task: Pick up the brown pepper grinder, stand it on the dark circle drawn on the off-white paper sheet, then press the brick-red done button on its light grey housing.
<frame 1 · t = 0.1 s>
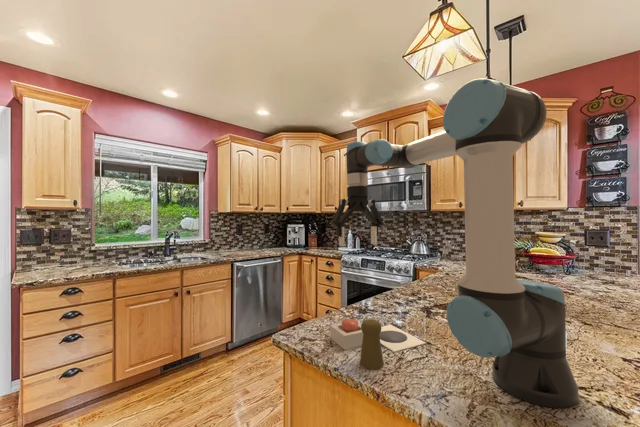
hand: (358, 245, 102), 28 cm above the counter, tool pointing down, fingers open, 13 cm apart
button housing: (350, 340, 87), on the counter
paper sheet: (392, 337, 89), on the counter
done button: (350, 326, 87), point 4 cm above the counter, slide at 0.0 cm
brown pepper grinder: (371, 364, 73), on the counter
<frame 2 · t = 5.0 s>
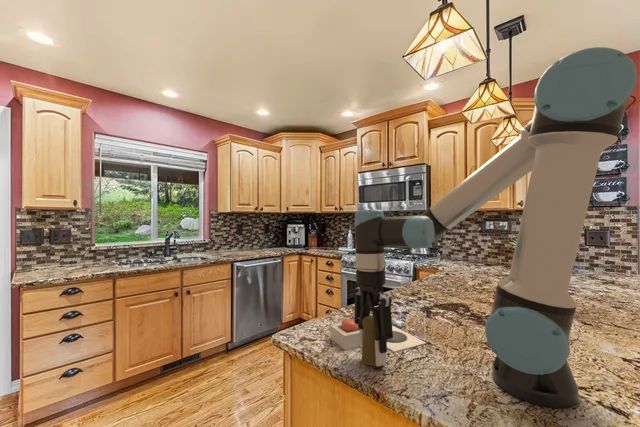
hand: (373, 358, 73), 1 cm above the counter, tool pointing down, fingers closed on brown pepper grinder, 6 cm apart
brown pepper grinder: (373, 360, 73), point 1 cm above the counter, touching gripper
everything else where it was.
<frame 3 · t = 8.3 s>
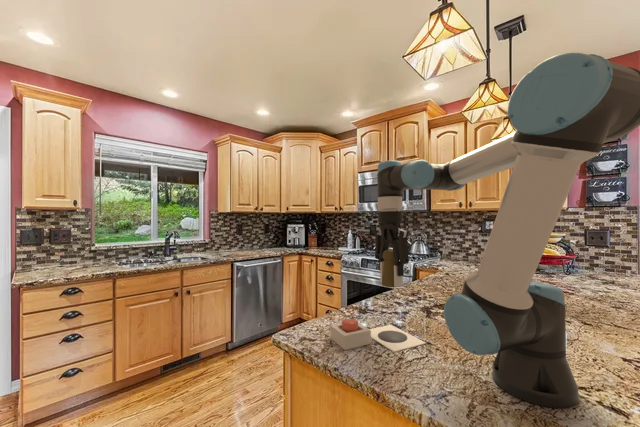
hand: (391, 283, 89), 17 cm above the counter, tool pointing down, fingers closed on brown pepper grinder, 6 cm apart
brown pepper grinder: (391, 285, 89), point 16 cm above the counter, touching gripper
everything else where it was.
when the fingers open (1 cm above the counter, at t = 11.6 s): brown pepper grinder stays where it is, resting on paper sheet.
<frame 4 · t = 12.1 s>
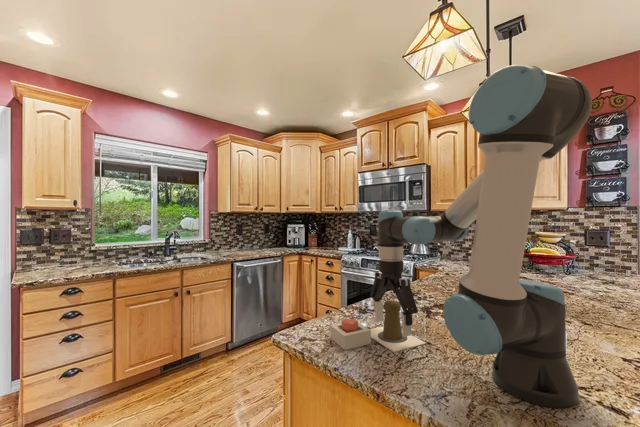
hand: (392, 327, 89), 3 cm above the counter, tool pointing down, fingers open, 12 cm apart
brown pepper grinder: (392, 336, 89), resting on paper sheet
everything else where it was.
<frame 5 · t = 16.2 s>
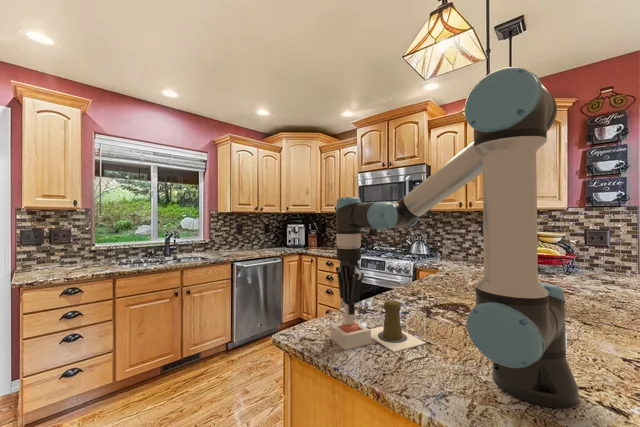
hand: (349, 323, 87), 5 cm above the counter, tool pointing down, fingers closed
done button: (350, 329, 87), point 3 cm above the counter, slide at 0.9 cm, touching gripper
everything else where it was.
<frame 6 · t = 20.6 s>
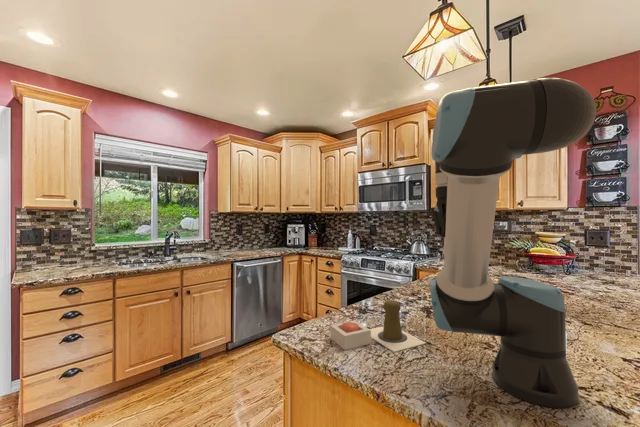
hand: (448, 256, 95), 24 cm above the counter, tool pointing down, fingers closed
done button: (350, 330, 87), point 3 cm above the counter, slide at 1.0 cm
everything else where it was.
at the end: brown pepper grinder 0.0 cm off-centre on the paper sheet, point 0.2 cm above the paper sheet's base; brown pepper grinder tilted 0°; done button slide at 1.0 cm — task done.
